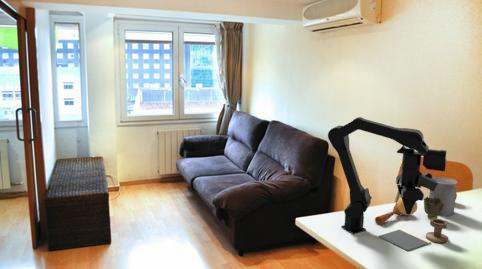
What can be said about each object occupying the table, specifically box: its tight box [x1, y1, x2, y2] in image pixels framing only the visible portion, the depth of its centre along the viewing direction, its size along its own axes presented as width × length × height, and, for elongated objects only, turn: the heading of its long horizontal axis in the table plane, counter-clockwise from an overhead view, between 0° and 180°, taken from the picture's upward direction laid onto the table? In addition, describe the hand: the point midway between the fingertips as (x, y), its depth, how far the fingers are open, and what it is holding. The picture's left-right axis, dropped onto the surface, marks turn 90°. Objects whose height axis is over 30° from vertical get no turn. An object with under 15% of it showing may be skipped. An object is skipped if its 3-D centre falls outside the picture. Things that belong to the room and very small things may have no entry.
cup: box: [423, 196, 445, 220], centre depth 152 cm, size 8×7×8 cm
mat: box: [378, 228, 432, 252], centre depth 134 cm, size 12×12×1 cm
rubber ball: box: [396, 197, 418, 216], centre depth 131 cm, size 6×6×6 cm
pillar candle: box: [428, 176, 458, 217], centre depth 158 cm, size 10×10×15 cm
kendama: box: [374, 202, 406, 226], centre depth 152 cm, size 6×6×20 cm
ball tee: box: [425, 218, 449, 245], centre depth 134 cm, size 7×7×6 cm
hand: (406, 210), depth 132 cm, fingers closed on rubber ball, 6 cm apart
